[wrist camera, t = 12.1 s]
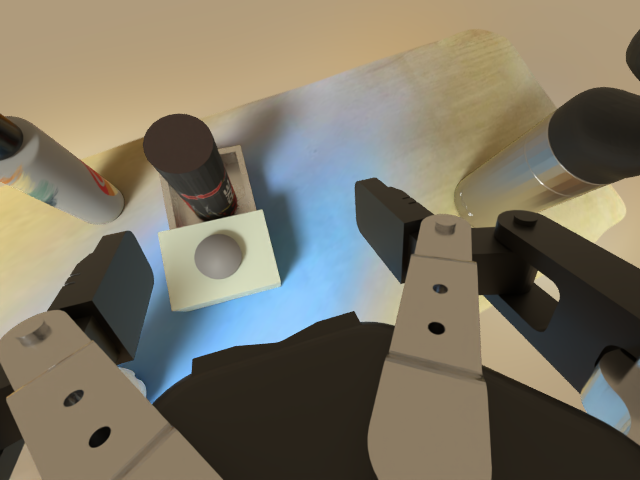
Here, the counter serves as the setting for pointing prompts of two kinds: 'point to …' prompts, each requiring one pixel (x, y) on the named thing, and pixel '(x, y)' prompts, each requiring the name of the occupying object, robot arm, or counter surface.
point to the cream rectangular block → (218, 261)
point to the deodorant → (191, 165)
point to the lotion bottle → (54, 173)
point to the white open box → (238, 176)
